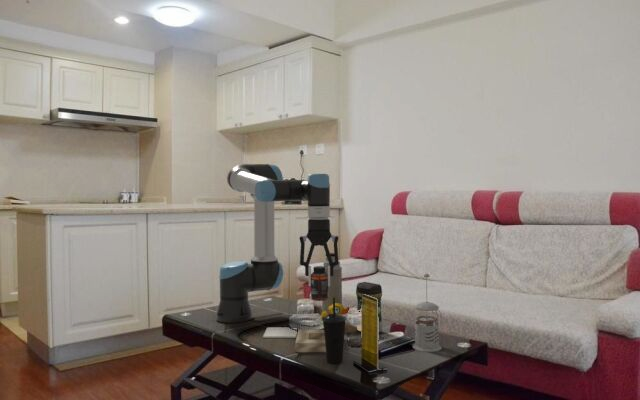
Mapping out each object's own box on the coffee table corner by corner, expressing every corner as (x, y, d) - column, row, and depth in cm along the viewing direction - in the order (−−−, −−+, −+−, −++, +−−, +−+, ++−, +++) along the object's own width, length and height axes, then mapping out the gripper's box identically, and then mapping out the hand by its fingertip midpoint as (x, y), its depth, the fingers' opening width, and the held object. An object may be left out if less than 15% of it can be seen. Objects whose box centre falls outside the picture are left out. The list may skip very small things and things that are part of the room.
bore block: (295, 352, 168) (295, 343, 168) (298, 338, 184) (298, 329, 184) (343, 352, 168) (343, 343, 168) (342, 337, 184) (342, 329, 184)
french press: (406, 346, 173) (405, 273, 173) (428, 340, 180) (428, 269, 180) (428, 353, 165) (428, 277, 165) (451, 346, 173) (451, 273, 172)
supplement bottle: (331, 298, 177) (330, 266, 177) (323, 302, 172) (323, 268, 171) (315, 297, 180) (315, 265, 179) (308, 300, 174) (307, 267, 174)
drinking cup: (318, 359, 161) (317, 296, 160) (340, 356, 164) (339, 294, 163) (328, 367, 154) (327, 301, 153) (351, 363, 157) (350, 298, 156)
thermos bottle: (323, 320, 209) (322, 252, 209) (342, 320, 208) (342, 252, 208) (321, 325, 201) (320, 254, 201) (341, 325, 200) (340, 254, 200)
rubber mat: (263, 338, 185) (263, 336, 185) (267, 328, 197) (267, 327, 197) (296, 338, 184) (296, 336, 184) (298, 328, 196) (298, 327, 196)
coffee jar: (352, 331, 192) (352, 282, 192) (366, 327, 198) (366, 279, 197) (372, 336, 185) (371, 285, 185) (385, 332, 191) (385, 282, 190)
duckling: (351, 328, 197) (351, 302, 197) (347, 331, 192) (347, 305, 191) (323, 326, 200) (322, 300, 200) (319, 329, 195) (318, 303, 195)
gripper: (290, 219, 172) (291, 287, 172) (346, 219, 171) (347, 287, 172) (292, 218, 179) (293, 283, 180) (346, 217, 179) (346, 283, 179)
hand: (319, 285), depth 176 cm, fingers closed on supplement bottle, 6 cm apart
